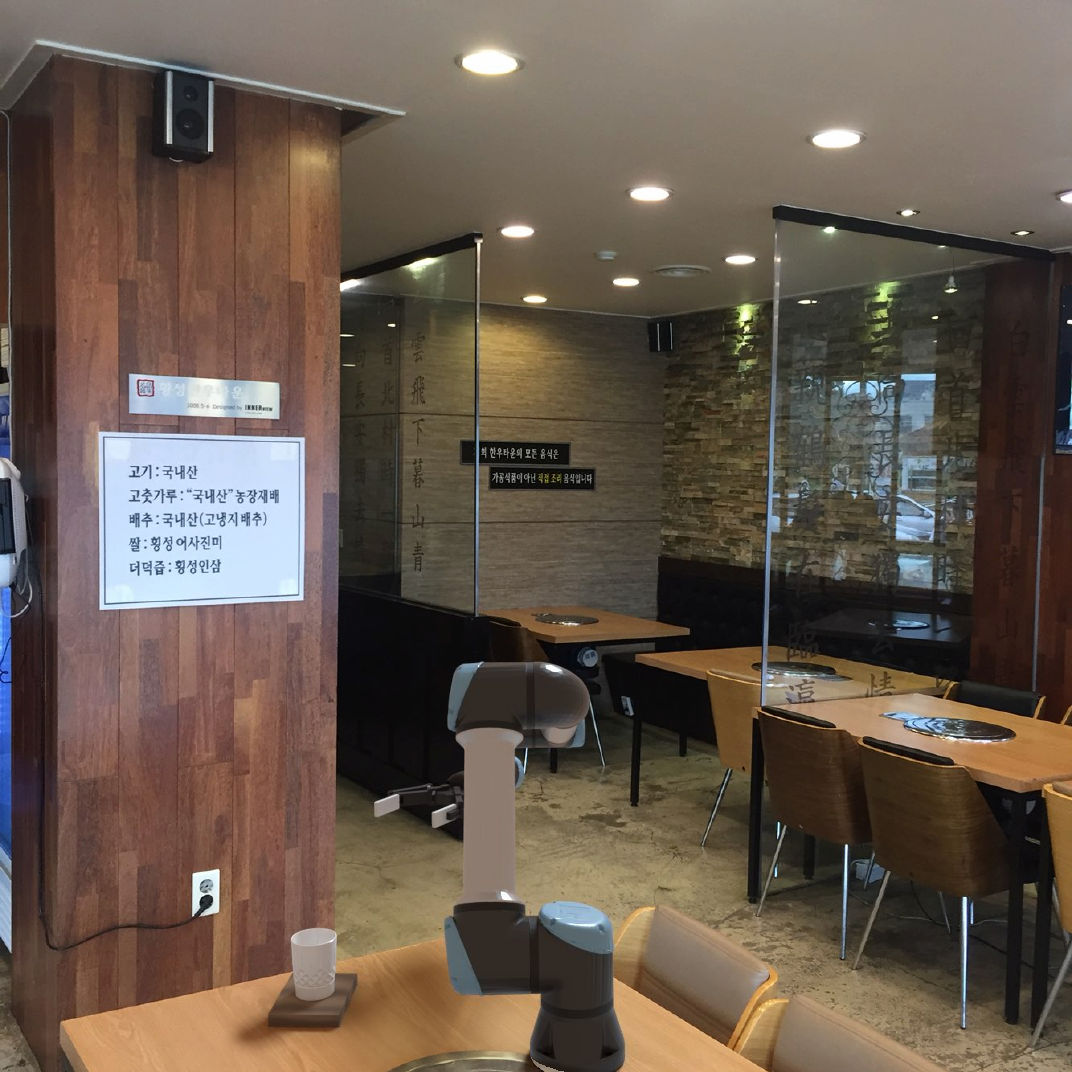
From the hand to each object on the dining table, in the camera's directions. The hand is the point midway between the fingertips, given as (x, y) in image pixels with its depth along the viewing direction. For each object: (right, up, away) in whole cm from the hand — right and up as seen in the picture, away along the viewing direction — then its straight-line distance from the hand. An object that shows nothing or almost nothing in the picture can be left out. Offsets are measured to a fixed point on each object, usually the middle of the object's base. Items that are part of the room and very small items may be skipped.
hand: (404, 814), depth 203 cm
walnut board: (-14, -31, -10) cm, 35 cm away
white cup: (-14, -29, -10) cm, 34 cm away
